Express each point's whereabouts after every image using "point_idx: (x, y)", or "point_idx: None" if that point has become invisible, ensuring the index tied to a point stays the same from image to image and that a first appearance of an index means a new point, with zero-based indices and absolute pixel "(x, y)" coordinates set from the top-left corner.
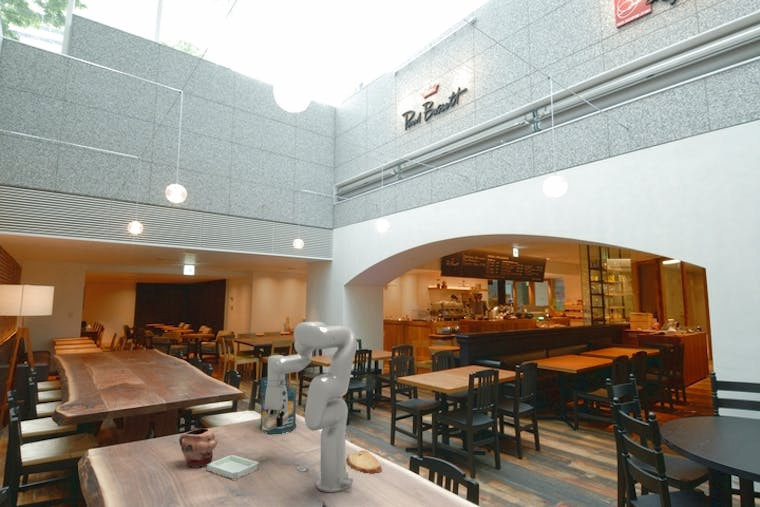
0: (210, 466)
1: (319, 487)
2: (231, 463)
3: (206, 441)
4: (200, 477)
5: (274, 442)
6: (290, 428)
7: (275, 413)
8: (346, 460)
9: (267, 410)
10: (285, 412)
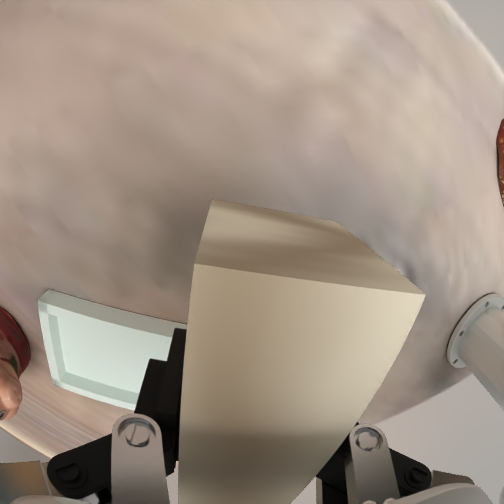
0: (72, 389)
1: (455, 367)
2: (81, 328)
3: (5, 416)
4: (91, 405)
5: (79, 28)
6: None
7: (209, 453)
8: (502, 181)
9: (94, 502)
10: (432, 484)
